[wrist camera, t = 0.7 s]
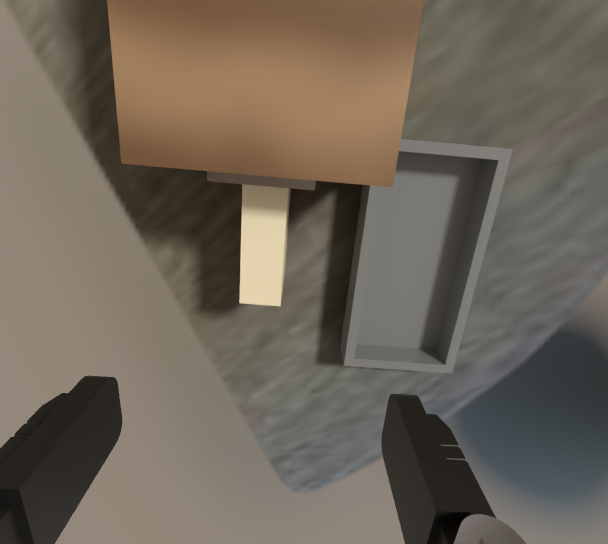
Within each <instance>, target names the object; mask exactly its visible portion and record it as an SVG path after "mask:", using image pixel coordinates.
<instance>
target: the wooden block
mask: <svg viewBox="0 0 608 544" xmlns="http://www.w3.org/2000/svg"><path fill="white" fill-rule="evenodd" d="M423 4H424V0H107V5H108V17H109V28H110V40H111V51H112V63H113V74H114V86H115V97H116V109H117V120H118V132H119V143H120V155H121V164H131V165H142V166H154V167H165V168H177V169H188V170H200V171H207V181H211V182H222V183H234V184H245V185H257V186H269V187H280V188H292V189H303V190H315V185H316V181H326V182H337V183H349V184H360V185H372V186H383V187H393V183H394V177H395V171H396V165H397V159H398V153H399V147H400V141H401V135H402V129H403V123H404V117H405V111H406V105H407V99H408V93H409V87H410V81H411V75H412V69H413V63H414V57H415V52H416V46H417V40H418V34H419V28H420V22H421V16H422V10H423Z"/></svg>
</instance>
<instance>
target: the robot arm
mask: <svg viewBox="0 0 608 544" xmlns="http://www.w3.org/2000/svg"><path fill="white" fill-rule="evenodd" d="M121 428H122V414H121V406H120V399H119V391H118V383H117V380H116V379H115V378H114V377H101V376H85V377H84V378H82V379H81V380H80V381H79V382H78V384H77V385H76V386H75V387H74V388H73V389H72V390H71V391H70V392H69V393H62V394H60V395H59V396H57V397H55V398H54V399H52V400H50V401H49V402H47V403H46V404H44V405H43V406H41V407H40V408H39V410H38V411H36V412H35V414H34V415H33V416H32V417H31V418H30V419H29V420H28V421H27V424H24V425H23V426H22V427H21V428H20V429H19V430H18V431H17V432H16V433H15V436H14V437H11V438H10V439H9V440H8V441H7V442H6V443H5V444H4V445H3V446H2V447H1V448H0V544H55V542H56V541H57V539H58V537H59V536H60V534H61V532H62V531H63V529H64V527H65V526H66V524H67V523H68V521H69V519H70V518H71V516H72V514H73V513H74V511H75V510H76V508H77V506H78V504H79V503H80V501H81V500H82V498H83V496H84V495H85V493H86V491H87V489H88V488H89V487H90V485H91V483H92V482H93V480H94V478H95V477H96V475H97V474H98V472H99V470H100V469H101V467H102V465H103V464H104V462H105V460H106V459H107V457H108V456H109V454H110V452H111V450H112V449H113V447H114V446H115V444H116V442H117V440H118V438H119V436H120V432H121ZM382 454H383V459H384V463H385V466H386V470H387V474H388V478H389V482H390V485H391V490H392V493H393V498H394V502H395V505H396V509H397V513H398V517H399V521H400V525H401V529H402V533H403V537H404V541H405V544H526V543H525V542H524V540H523V539H522V538H521V537H520V536H519V535H518V534H517V533H516V532H515V531H514V530H513V529H512V528H511V527H509V526H508V525H507V524H505V523H504V522H502V521H500V520H498V519H496V517H495V515H494V513H493V511H492V509H491V508H490V505H489V504H488V502H487V500H486V498H485V496H484V494H483V492H482V490H481V488H480V486H479V484H478V482H477V480H476V478H475V476H474V475H473V472H472V470H471V469H470V466H469V465H468V463H467V462H466V461H465V457H464V455H463V453H462V451H461V449H460V448H459V447H458V443H457V441H456V439H455V437H454V435H453V433H452V431H451V429H450V428H449V427H448V426H447V425H446V424H445V423H444V422H443V421H442V420H441V419H440V418H439V417H438V416H437V415H434V414H426V412H425V410H424V408H423V405H422V403H421V401H420V399H419V397H418V396H417V395H405V394H391V395H390V397H389V400H388V406H387V411H386V416H385V422H384V427H383V432H382Z"/></svg>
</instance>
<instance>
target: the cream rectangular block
mask: <svg viewBox="0 0 608 544" xmlns="http://www.w3.org/2000/svg"><path fill="white" fill-rule="evenodd" d="M290 192H291V188H280V187H269V186H257V185H245V184H242V221H241V261H240V300H239V303H244V304H258V305H271V306H280V305H281V297H282V290H283V282H284V274H285V262H286V248H287V234H288V220H289V206H290Z"/></svg>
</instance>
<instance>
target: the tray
mask: <svg viewBox="0 0 608 544" xmlns="http://www.w3.org/2000/svg"><path fill="white" fill-rule="evenodd" d="M512 151H513V149H506V148H495V147H484V146H473V145H462V144H451V143H440V142H430V141H419V140H408V139H401V141H400V147H399V153H398V159H397V165H396V171H395V177H394V183H393V187H383V186H372V185H363V187H362V194H361V201H360V209H359V216H358V223H357V230H356V237H355V245H354V252H353V259H352V266H351V273H350V281H349V288H348V295H347V302H346V309H345V317H344V324H343V331H342V338H341V345H340V348H341V353H342V358H343V364H344V366H354V367H368V368H383V369H397V370H411V371H425V372H440V373H452V372H453V368H454V365H455V361H456V357H457V354H458V350H459V346H460V343H461V339H462V335H463V331H464V328H465V324H466V320H467V317H468V313H469V309H470V306H471V302H472V298H473V295H474V291H475V287H476V284H477V280H478V276H479V272H480V269H481V265H482V261H483V258H484V254H485V250H486V247H487V243H488V239H489V236H490V232H491V228H492V225H493V221H494V217H495V213H496V210H497V206H498V202H499V199H500V195H501V191H502V188H503V184H504V180H505V177H506V173H507V169H508V166H509V162H510V158H511V155H512Z"/></svg>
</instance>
